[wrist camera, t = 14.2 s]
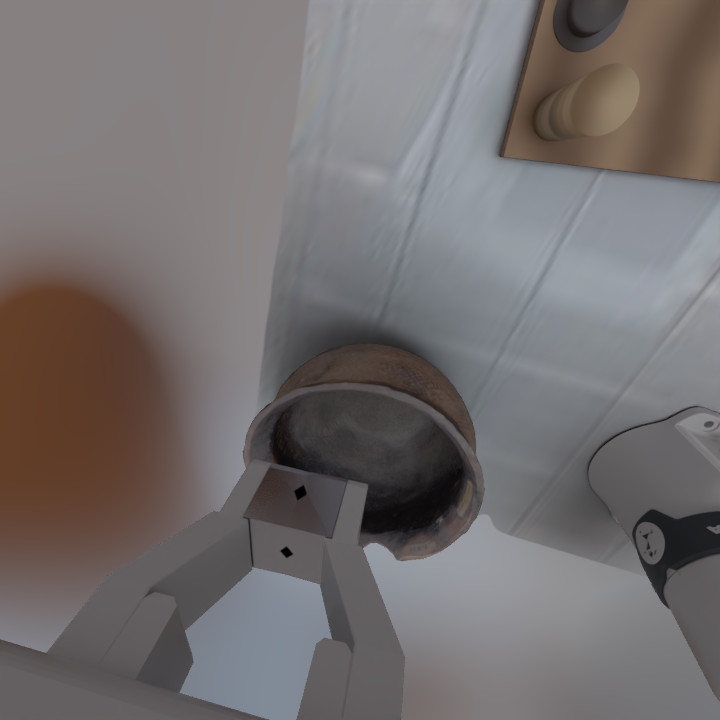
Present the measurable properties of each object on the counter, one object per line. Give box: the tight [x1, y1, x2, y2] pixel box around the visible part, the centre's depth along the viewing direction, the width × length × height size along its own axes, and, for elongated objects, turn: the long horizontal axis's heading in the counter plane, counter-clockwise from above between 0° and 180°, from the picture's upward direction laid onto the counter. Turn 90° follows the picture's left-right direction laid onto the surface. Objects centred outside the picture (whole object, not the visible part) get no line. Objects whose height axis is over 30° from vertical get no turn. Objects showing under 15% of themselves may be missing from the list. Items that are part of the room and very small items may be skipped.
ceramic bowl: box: [243, 344, 484, 561], centre depth 39 cm, size 22×22×15 cm
